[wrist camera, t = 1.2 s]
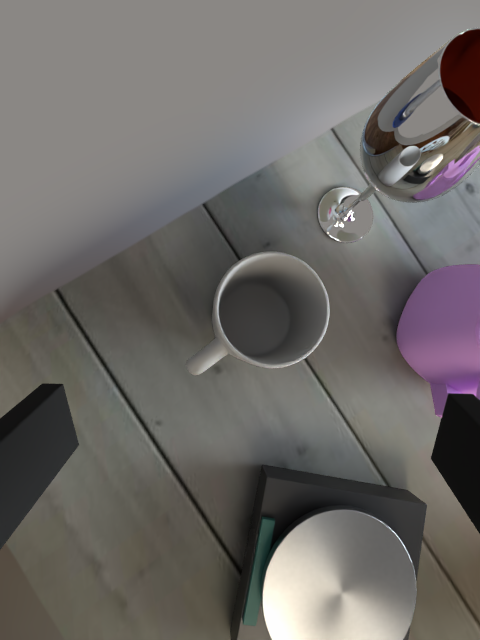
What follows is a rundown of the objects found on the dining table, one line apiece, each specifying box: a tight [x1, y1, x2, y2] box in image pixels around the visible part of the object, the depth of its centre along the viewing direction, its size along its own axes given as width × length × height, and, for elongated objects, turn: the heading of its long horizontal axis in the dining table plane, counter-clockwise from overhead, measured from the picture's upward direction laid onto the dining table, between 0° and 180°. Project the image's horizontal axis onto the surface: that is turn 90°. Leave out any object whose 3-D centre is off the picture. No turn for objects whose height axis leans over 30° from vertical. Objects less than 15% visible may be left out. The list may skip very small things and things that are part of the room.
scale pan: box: [261, 505, 416, 640], centre depth 27 cm, size 14×14×1 cm
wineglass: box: [317, 28, 480, 243], centre depth 26 cm, size 8×8×18 cm
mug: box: [186, 251, 329, 375], centre depth 27 cm, size 12×8×11 cm
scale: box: [230, 465, 427, 640], centre depth 30 cm, size 16×16×4 cm
